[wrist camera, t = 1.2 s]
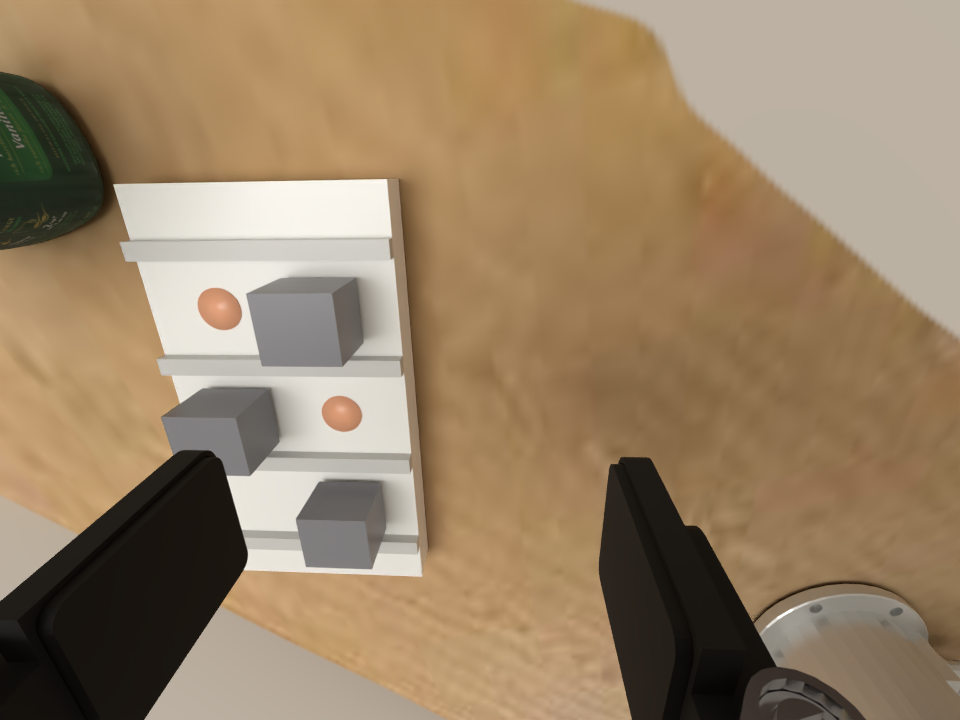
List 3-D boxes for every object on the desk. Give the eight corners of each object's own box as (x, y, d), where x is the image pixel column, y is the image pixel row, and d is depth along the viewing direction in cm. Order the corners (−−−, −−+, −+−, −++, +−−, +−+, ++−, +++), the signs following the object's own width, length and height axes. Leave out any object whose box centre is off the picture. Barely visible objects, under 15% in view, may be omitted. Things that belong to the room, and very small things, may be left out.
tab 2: (355, 277, 23) (331, 293, 20) (363, 342, 25) (342, 367, 22) (280, 277, 24) (245, 293, 20) (292, 342, 25) (261, 366, 22)
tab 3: (381, 482, 28) (365, 521, 25) (386, 527, 30) (372, 569, 26) (318, 481, 28) (295, 519, 25) (327, 525, 30) (306, 567, 27)
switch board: (398, 178, 24) (383, 179, 21) (428, 549, 34) (420, 584, 31) (149, 183, 25) (101, 184, 22) (249, 543, 35) (225, 577, 32)
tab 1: (268, 389, 26) (235, 418, 23) (279, 441, 27) (250, 476, 24) (202, 388, 26) (160, 417, 23) (217, 440, 28) (179, 474, 25)
